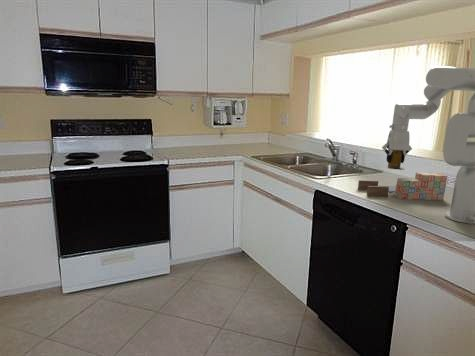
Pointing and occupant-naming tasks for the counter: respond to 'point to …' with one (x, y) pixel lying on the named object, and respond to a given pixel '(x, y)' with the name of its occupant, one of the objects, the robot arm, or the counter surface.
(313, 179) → the counter surface
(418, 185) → the stack of blocks
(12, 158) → the counter surface
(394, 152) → the condiment
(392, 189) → the mat
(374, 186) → the brown angular block
